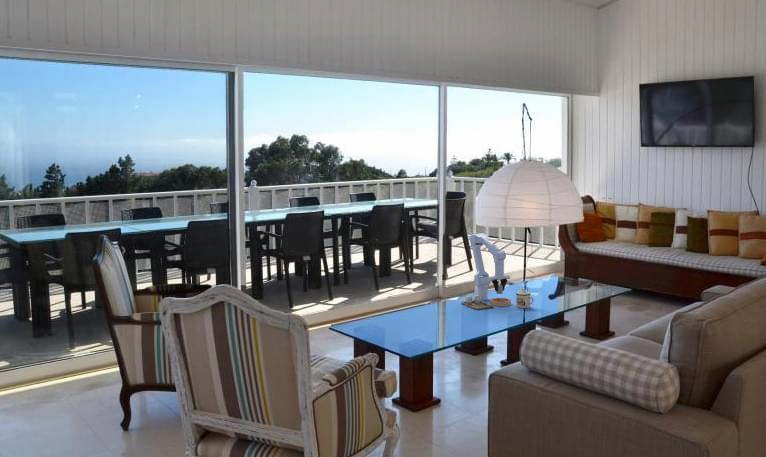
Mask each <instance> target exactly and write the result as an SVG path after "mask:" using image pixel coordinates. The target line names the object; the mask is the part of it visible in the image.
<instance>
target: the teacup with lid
mask: <svg viewBox="0 0 766 457" xmlns="http://www.w3.org/2000/svg"><path fill="white" fill-rule="evenodd" d="M515 294H516V297H515V298H516V299H515V305H516V307H517V308H518V309H530V307H531V305H533V304H534V301H535V300H534V297H533V296H531V292H530V291H528V290H526V288H521V290H518V291H517V292H516V293H515Z"/></svg>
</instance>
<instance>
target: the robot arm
mask: <svg viewBox="0 0 766 457" xmlns="http://www.w3.org/2000/svg"><path fill="white" fill-rule="evenodd" d="M469 242H470V243H469V244H470V247H471V249H472V254H473V259H474V263H475V269H476V273H475V274H474V275H473V278H474V279H473V280H474V281H473V283H474V285H475V287H474V295H480V301H487V300H489V301H490V298H489V286H490V285H491V283H492V285H493V288H494V291H495V293H496V292H497V291H498V284H502V285H503V292H504V291H505V287H506V285H507V283H508V280H511V275H505V260H506V258H507V254H506V252H505V251H504V250H501V249H499V247H498V246H497V245H496V244H493V243H491V241H490V240H489V239H488V236H487V234H486V233H485V232H482V233H472V234H470V236H469ZM483 246H485V247H486V248H487V251H488V252H489V253H490V254H491V255H492V258H493V262H494V276H490V275H489V273H488V272H487V271H485V265H484V260H483V255H482V250H481V248H482V247H483ZM499 282H500V283H499Z"/></svg>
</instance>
